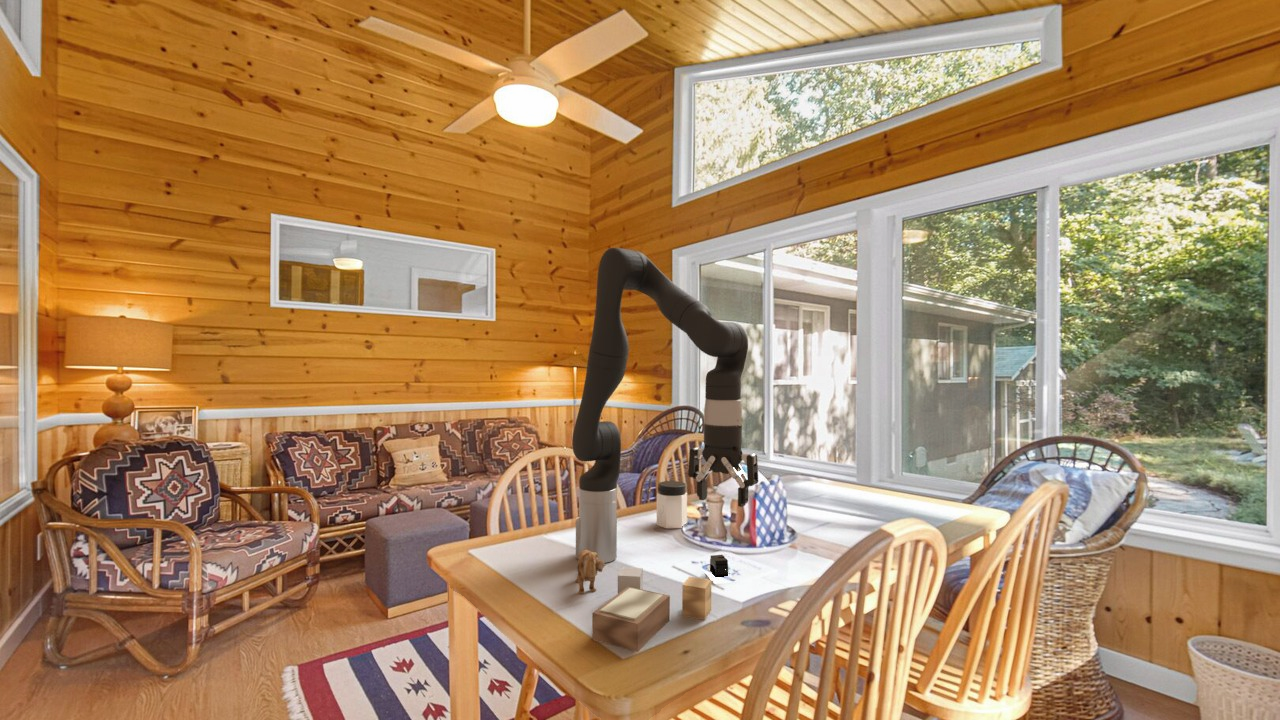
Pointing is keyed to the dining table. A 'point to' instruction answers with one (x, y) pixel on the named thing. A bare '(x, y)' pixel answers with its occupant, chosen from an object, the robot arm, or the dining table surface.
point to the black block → (719, 565)
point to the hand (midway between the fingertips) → (722, 502)
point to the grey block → (630, 578)
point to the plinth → (631, 618)
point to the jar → (671, 504)
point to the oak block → (696, 598)
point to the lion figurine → (588, 569)
